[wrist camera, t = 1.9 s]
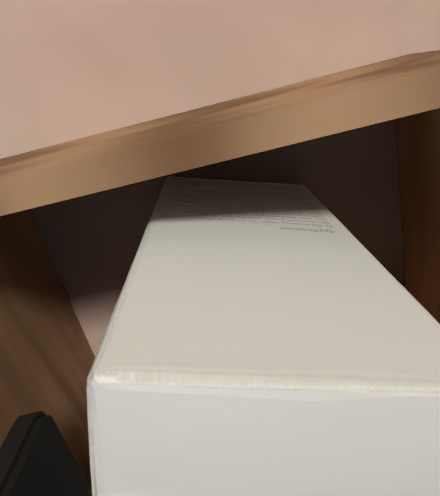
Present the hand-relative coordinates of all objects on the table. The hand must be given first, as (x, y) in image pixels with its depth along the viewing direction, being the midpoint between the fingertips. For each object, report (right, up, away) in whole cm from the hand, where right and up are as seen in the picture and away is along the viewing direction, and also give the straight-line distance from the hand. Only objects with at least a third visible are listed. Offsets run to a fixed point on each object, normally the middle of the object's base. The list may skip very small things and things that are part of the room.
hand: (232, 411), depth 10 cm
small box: (0, +4, +9) cm, 10 cm away
